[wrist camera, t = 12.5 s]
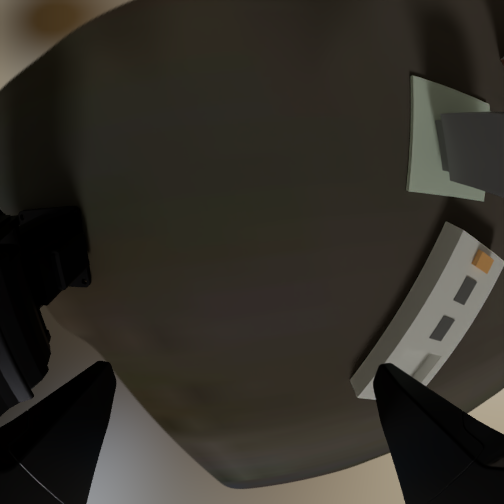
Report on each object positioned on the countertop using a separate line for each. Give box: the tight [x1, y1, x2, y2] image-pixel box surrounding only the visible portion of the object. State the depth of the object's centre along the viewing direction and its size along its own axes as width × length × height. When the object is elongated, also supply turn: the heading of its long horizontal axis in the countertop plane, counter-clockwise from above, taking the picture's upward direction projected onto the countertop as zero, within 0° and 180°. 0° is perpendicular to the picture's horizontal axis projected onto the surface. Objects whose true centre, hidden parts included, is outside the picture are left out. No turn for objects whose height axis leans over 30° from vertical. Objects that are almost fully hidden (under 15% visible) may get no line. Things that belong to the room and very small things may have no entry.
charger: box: [435, 112, 504, 198], centre depth 14 cm, size 5×5×9 cm
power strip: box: [350, 221, 504, 400], centre depth 23 cm, size 18×8×3 cm, turn 158°
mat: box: [406, 76, 490, 201], centre depth 18 cm, size 9×9×1 cm
